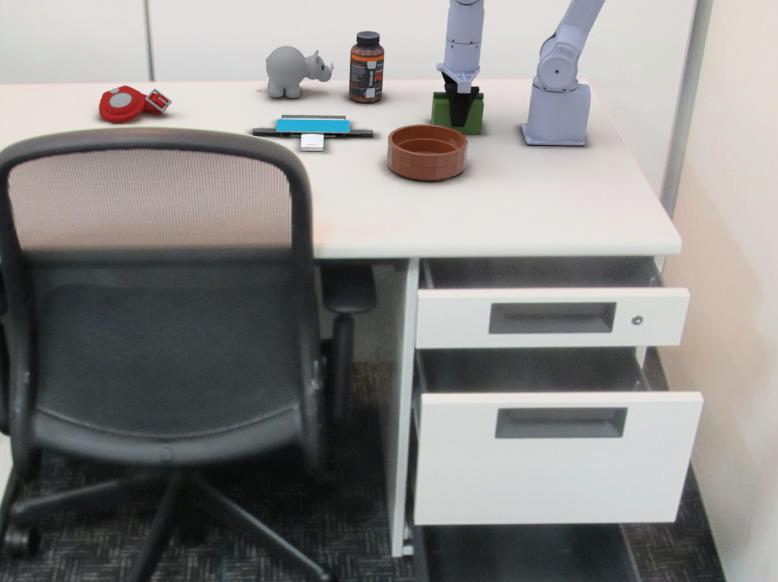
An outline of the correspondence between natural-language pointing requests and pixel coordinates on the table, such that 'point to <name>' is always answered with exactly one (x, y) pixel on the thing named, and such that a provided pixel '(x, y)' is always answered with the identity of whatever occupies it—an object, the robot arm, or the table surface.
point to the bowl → (426, 152)
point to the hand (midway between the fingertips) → (456, 119)
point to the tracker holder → (130, 104)
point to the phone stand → (312, 129)
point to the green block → (443, 113)
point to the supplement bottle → (366, 68)
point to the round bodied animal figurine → (293, 71)
